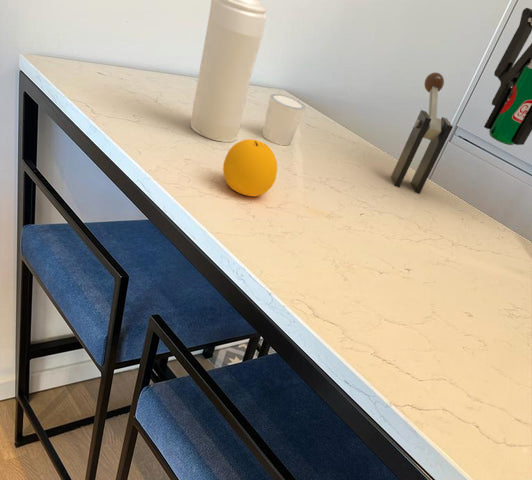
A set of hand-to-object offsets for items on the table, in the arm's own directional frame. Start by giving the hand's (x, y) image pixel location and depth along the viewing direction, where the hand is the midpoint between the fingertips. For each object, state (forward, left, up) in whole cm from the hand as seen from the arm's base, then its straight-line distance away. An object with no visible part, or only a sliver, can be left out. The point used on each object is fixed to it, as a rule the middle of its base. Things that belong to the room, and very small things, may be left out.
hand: (503, 135), depth 95 cm
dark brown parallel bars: (+10, +5, -15) cm, 19 cm away
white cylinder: (+32, +18, -16) cm, 40 cm away
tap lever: (+15, +1, -2) cm, 15 cm away
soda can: (0, 0, -1) cm, 1 cm away
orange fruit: (+15, +40, -16) cm, 45 cm away
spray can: (+34, +32, -16) cm, 49 cm away
